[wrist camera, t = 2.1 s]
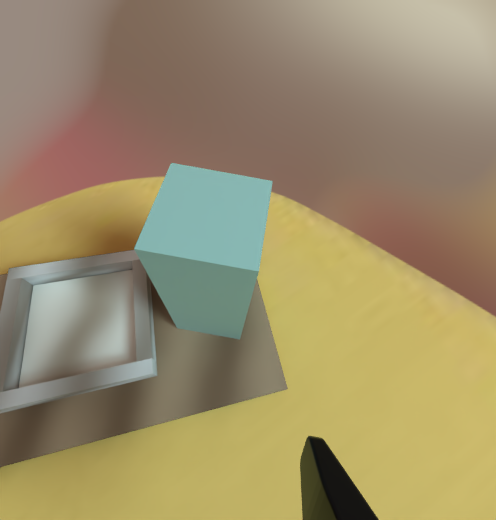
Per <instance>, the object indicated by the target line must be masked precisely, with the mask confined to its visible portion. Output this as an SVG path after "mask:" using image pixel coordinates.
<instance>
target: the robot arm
mask: <svg viewBox="0 0 496 520" xmlns="http://www.w3.org/2000/svg"><path fill="white" fill-rule="evenodd" d="M300 472H301V492H302V513H303V520H379V519H378V518H377V516H376V515H375V514H374V512H373V511H372V509H371V508H370V506H369V505H368V503H367V502H366V500H365V499H364V497H363V496H362V495H361V493H360V492H359V490H358V489H357V487H356V486H355V484H354V483H353V481H352V480H351V479H350V477H349V476H348V474H347V473H346V471H345V470H344V468H343V467H342V465H341V464H340V463H339V461H338V460H337V458H336V457H335V455H334V454H333V452H332V451H331V449H330V448H329V446H328V445H327V444H326V442H325V441H324V440H323V439H322V438H319V437H314V436H308V437H307V439H306V442H305V446H304V449H303V452H302V456H301V461H300Z"/></svg>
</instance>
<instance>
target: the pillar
mask: <svg viewBox="0 0 496 520" xmlns="http://www.w3.org/2000/svg"><path fill="white" fill-rule="evenodd" d="M271 188H272V181H269V180H263V179H258V178H252V177H246V176H241V175H236V174H230V173H225V172H219V171H214V170H208V169H203V168H197V167H192V166H186V165H181V164H175V163H171V165H170V167H169V169H168V172H167V174H166V176H165V179H164V181H163V183H162V185H161V188H160V190H159V192H158V195H157V197H156V199H155V202H154V204H153V206H152V208H151V211H150V213H149V215H148V218H147V220H146V222H145V225H144V227H143V229H142V232H141V234H140V236H139V238H138V241H137V243H136V245H135V248H134V250H135V252H136V254H137V255H138V257H139V259H140V261H141V263H142V265H143V266H144V268H145V270H146V272H147V274H148V276H149V277H150V279H151V281H152V283H153V285H154V287H155V288H156V290H157V292H158V294H159V296H160V298H161V299H162V301H163V303H164V305H165V307H166V309H167V310H168V312H169V314H170V316H171V318H172V320H173V322H174V323H175V325H176V327H177V328H179V329H185V330H190V331H196V332H201V333H207V334H212V335H218V336H223V337H229V338H234V339H240V337H241V333H242V330H243V326H244V322H245V319H246V315H247V312H248V308H249V305H250V301H251V297H252V294H253V290H254V287H255V283H256V279H257V276H258V272H259V266H260V260H261V253H262V247H263V240H264V234H265V227H266V221H267V214H268V208H269V201H270V195H271Z"/></svg>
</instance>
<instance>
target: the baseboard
mask: <svg viewBox="0 0 496 520" xmlns="http://www.w3.org/2000/svg"><path fill="white" fill-rule="evenodd" d="M286 389H288V388H287V385H286V381H285V378H284V374H283V371H282V367H281V363H280V360H279V356H278V353H277V349H276V346H275V342H274V338H273V335H272V331H271V328H270V324H269V320H268V317H267V313H266V310H265V306H264V303H263V299H262V295H261V292H260V288H259V285H258V281H257V279H256V283H255V287H254V290H253V294H252V297H251V301H250V305H249V308H248V312H247V315H246V319H245V322H244V326H243V330H242V333H241V337H240V339H234V338H229V337H223V336H218V335H212V334H207V333H201V332H196V331H190V330H185V329H179V328H177V327H176V325H175V323H174V322H173V320H172V318H171V316H170V314H169V312H168V310H167V309H166V307H165V305H164V303H163V301H162V299H161V298H160V296H159V294H158V292H157V290H156V288H155V287H154V285H153V283H152V281H151V279H150V277H149V276H148V274H147V272H146V270H145V268H144V266H143V265H142V263H141V261H140V259H139V257H138V255H137V254H136V252H135V250H129V251H123V252H116V253H109V254H103V255H96V256H89V257H82V258H76V259H69V260H62V261H56V262H49V263H42V264H35V265H29V266H22V267H15V268H9V270H8V274H2V275H0V467H2V466H6V465H9V464H13V463H17V462H21V461H24V460H28V459H32V458H35V457H39V456H43V455H46V454H50V453H54V452H57V451H61V450H65V449H68V448H72V447H76V446H79V445H83V444H87V443H91V442H94V441H98V440H102V439H105V438H109V437H113V436H116V435H120V434H124V433H127V432H131V431H135V430H138V429H142V428H146V427H150V426H153V425H157V424H161V423H164V422H168V421H172V420H175V419H179V418H183V417H186V416H190V415H194V414H197V413H201V412H205V411H208V410H212V409H216V408H220V407H223V406H227V405H231V404H234V403H238V402H242V401H245V400H249V399H253V398H256V397H260V396H264V395H267V394H271V393H275V392H278V391H282V390H286Z"/></svg>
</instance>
